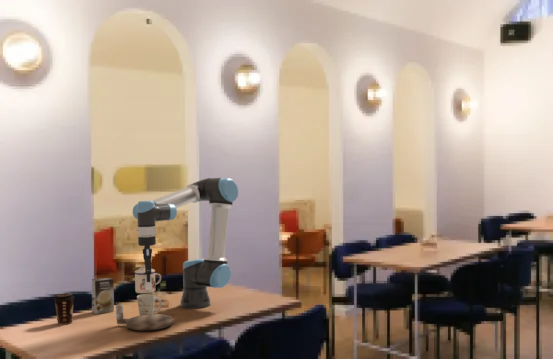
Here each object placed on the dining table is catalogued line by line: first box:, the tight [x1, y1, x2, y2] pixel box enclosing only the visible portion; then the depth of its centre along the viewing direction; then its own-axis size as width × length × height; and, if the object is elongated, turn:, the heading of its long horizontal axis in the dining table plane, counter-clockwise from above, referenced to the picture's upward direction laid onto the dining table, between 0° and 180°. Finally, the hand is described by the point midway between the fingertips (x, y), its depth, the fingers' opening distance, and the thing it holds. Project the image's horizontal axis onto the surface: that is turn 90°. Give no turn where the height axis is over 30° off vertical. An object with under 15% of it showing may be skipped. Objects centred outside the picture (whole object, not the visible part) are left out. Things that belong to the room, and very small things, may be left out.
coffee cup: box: [53, 292, 75, 326], centre depth 274 cm, size 9×8×13 cm
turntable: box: [115, 304, 174, 331], centre depth 264 cm, size 24×20×8 cm
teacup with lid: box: [133, 264, 162, 294], centre depth 265 cm, size 12×9×12 cm
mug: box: [136, 293, 163, 316], centre depth 284 cm, size 8×13×10 cm, turn 137°
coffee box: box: [91, 277, 115, 315], centre depth 295 cm, size 9×6×16 cm
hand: (148, 287), depth 264 cm, fingers closed on teacup with lid, 9 cm apart
